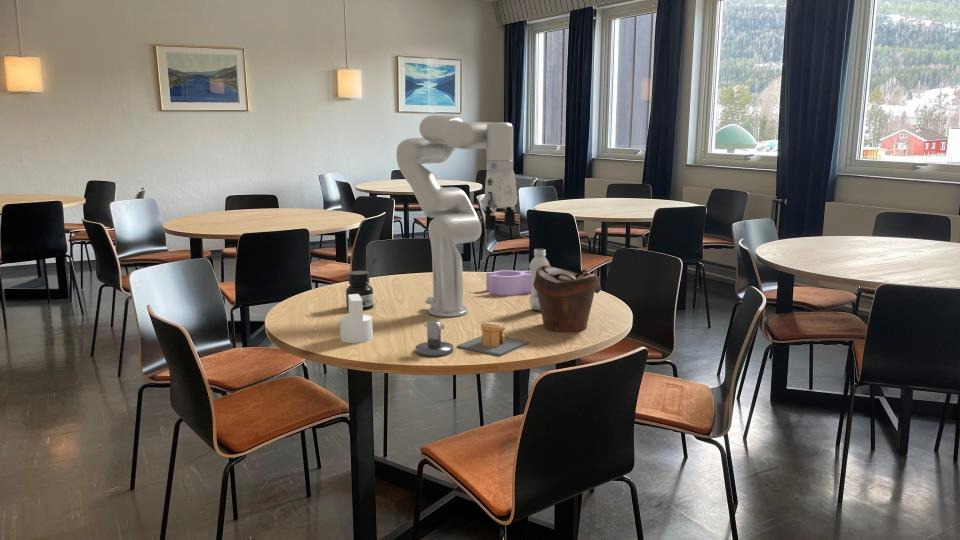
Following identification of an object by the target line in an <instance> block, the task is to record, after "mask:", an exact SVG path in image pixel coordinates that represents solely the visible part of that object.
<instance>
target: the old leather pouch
mask: <svg viewBox="0 0 960 540" xmlns="http://www.w3.org/2000/svg"><path fill="white" fill-rule="evenodd" d="M533 286H534V288H535V290H536V291H537V295H538V299H539V304H540V309H541V311H540V313H541V318H542V323H543V326H544V328H545V329H546V330H549V331H550V330H551V331H553V332H561V333H565V332H566V333H569V332H570V333H571V332H573V333H574V332H581V331H583V330H585V329H587V327H588V322H589V318H590V313H591V310H592V304H593V301H594V295H595V294H598V293H600V292H601V290H602V288H601V284H600V279H599V277H598V276H597V274H595V273H591V274H589V272H588V271H586V270H581V271H579V272H574V271H570V270H566V269H563V268H558V267H554V266H551V265H550V266H546V265H543V266H540V267H539V268H538V269H537V271H536V276H535V280H534V283H533Z"/></svg>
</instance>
